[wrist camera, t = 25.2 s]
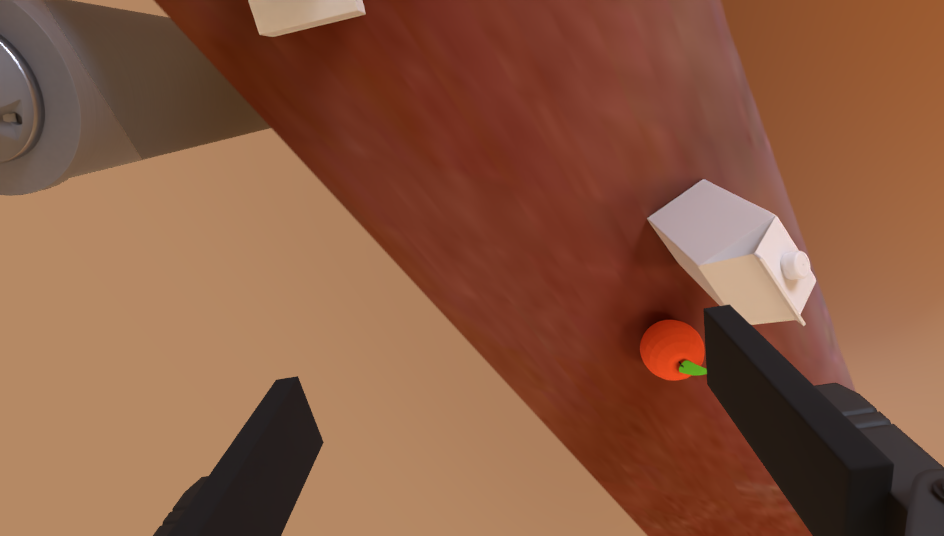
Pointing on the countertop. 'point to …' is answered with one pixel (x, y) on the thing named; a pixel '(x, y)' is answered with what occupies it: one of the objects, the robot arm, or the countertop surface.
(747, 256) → the milk carton
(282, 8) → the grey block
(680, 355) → the clementine
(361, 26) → the countertop surface
